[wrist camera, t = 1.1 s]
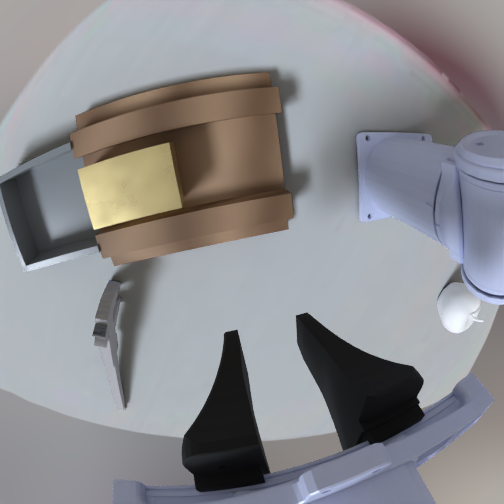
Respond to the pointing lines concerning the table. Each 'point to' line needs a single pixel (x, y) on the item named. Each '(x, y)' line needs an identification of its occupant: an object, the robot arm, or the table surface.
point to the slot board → (196, 162)
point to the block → (132, 185)
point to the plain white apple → (458, 307)
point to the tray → (47, 210)
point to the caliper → (110, 339)
